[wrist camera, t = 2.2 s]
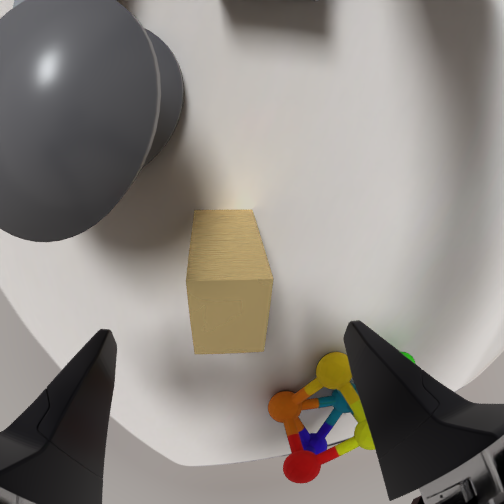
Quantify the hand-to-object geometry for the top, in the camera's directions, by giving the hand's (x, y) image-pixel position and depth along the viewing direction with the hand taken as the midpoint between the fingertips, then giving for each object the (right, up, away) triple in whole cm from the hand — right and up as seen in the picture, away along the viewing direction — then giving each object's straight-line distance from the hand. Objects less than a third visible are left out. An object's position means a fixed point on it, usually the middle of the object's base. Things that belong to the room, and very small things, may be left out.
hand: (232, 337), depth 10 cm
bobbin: (-6, +10, +1) cm, 12 cm away
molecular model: (+8, -9, +15) cm, 19 cm away
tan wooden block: (-1, +4, +6) cm, 7 cm away
